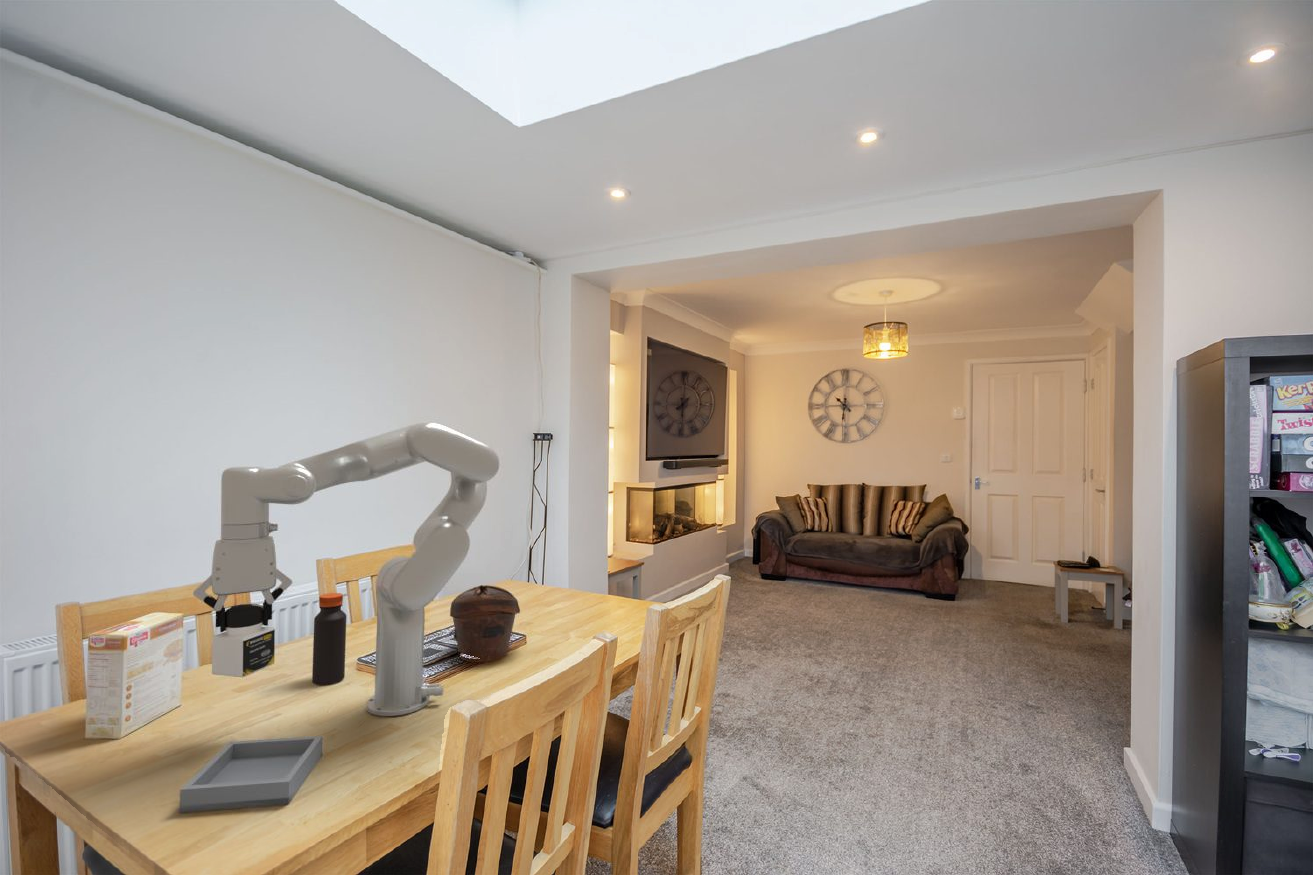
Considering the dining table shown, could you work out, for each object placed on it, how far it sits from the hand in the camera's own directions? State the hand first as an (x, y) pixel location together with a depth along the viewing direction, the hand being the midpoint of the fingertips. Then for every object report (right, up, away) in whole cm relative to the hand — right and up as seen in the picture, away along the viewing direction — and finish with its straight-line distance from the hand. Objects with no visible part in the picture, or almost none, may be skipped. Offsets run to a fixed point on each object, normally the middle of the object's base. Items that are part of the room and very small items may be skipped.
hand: (244, 626), depth 114 cm
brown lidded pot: (+31, -23, +49) cm, 62 cm away
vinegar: (+1, -22, +28) cm, 36 cm away
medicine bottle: (0, -8, 0) cm, 8 cm away
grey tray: (+12, -21, -14) cm, 28 cm away
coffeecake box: (-26, -21, +6) cm, 34 cm away
